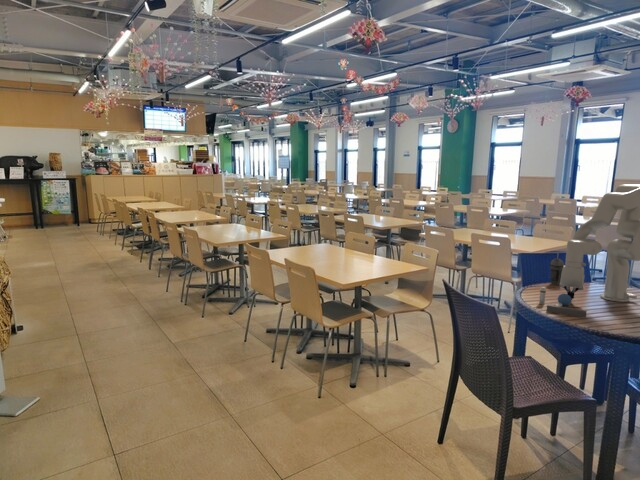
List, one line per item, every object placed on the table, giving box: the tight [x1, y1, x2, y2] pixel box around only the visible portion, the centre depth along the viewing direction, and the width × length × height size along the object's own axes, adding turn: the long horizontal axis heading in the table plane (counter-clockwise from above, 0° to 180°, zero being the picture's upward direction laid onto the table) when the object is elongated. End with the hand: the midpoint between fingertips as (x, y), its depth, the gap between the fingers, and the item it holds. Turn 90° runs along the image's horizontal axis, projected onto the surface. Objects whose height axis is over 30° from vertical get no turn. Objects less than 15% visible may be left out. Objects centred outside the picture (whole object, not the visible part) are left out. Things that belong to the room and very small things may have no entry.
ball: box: [557, 293, 572, 307], centre depth 214 cm, size 6×6×6 cm
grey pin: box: [538, 286, 547, 306], centre depth 216 cm, size 2×2×8 cm
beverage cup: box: [549, 250, 565, 286], centre depth 255 cm, size 7×7×20 cm
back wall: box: [546, 304, 588, 319], centre depth 201 cm, size 16×2×3 cm, turn 53°
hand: (570, 299), depth 220 cm, fingers closed
